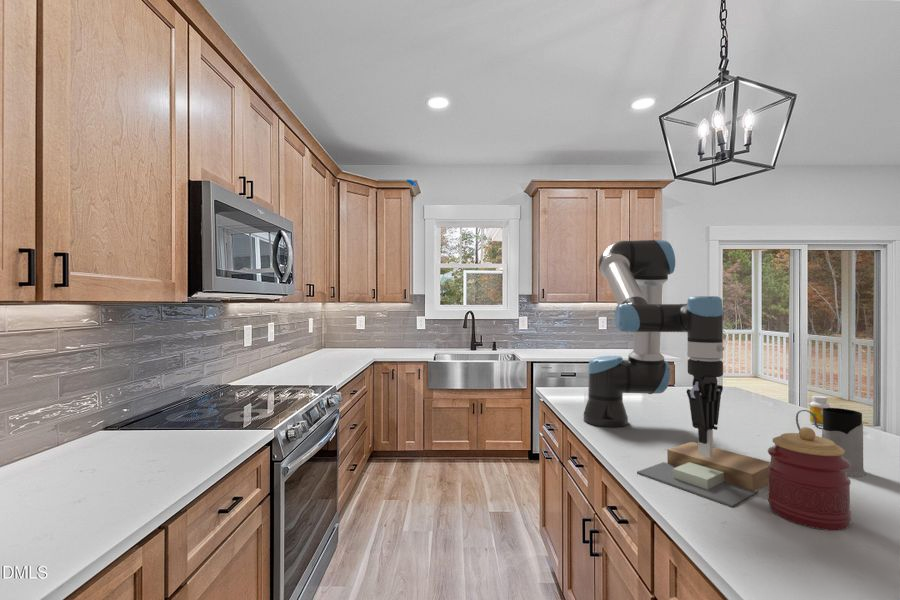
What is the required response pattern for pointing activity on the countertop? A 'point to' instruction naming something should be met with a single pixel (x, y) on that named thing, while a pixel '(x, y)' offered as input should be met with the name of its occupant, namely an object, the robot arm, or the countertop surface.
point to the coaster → (698, 475)
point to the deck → (724, 465)
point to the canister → (809, 480)
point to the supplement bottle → (818, 409)
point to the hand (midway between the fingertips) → (705, 455)
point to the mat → (719, 493)
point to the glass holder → (844, 435)
